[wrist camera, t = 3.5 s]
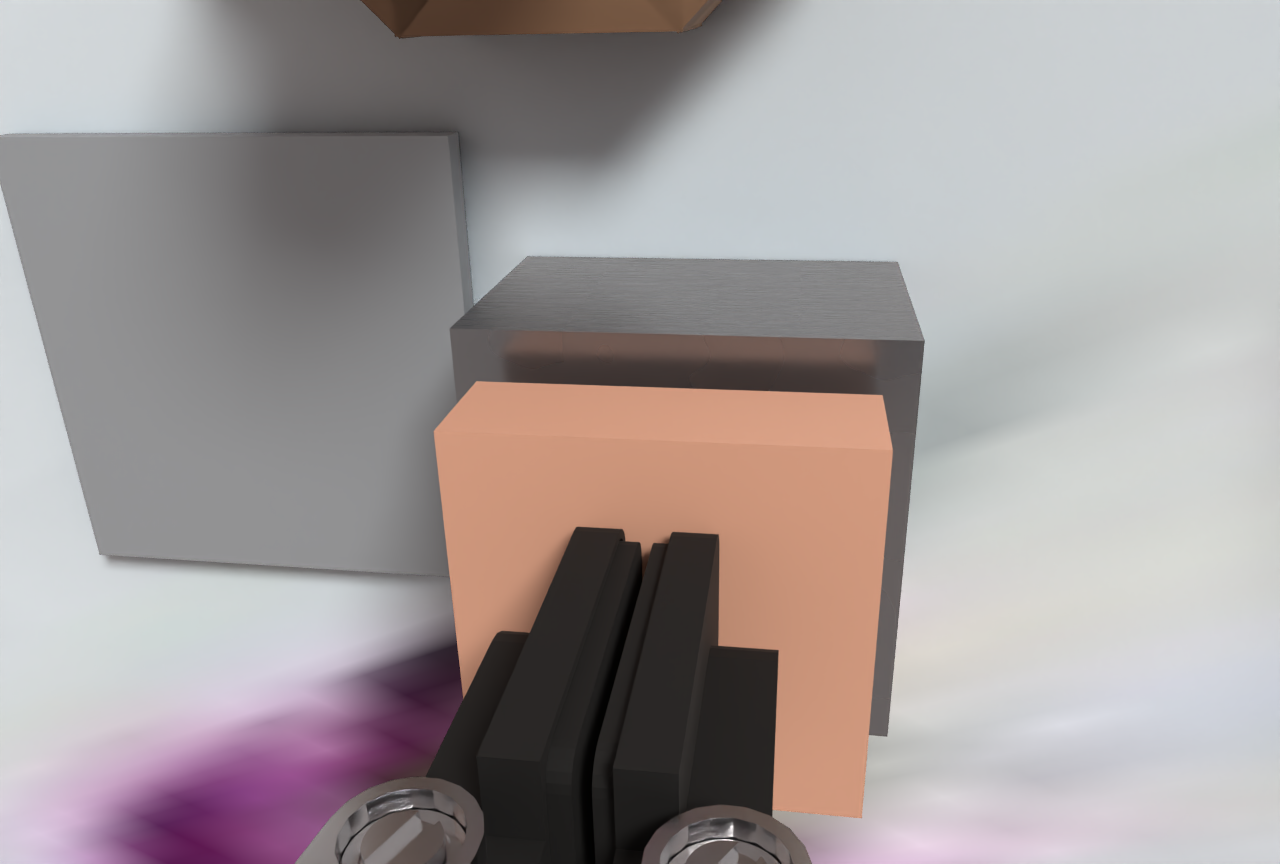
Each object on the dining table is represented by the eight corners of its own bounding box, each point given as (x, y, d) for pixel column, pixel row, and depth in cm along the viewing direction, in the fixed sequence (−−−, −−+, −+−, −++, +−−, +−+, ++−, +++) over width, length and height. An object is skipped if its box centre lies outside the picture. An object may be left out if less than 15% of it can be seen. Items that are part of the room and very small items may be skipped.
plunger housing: (898, 261, 16) (924, 340, 12) (871, 589, 18) (887, 736, 15) (526, 256, 17) (449, 328, 13) (547, 569, 19) (486, 703, 15)
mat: (458, 132, 16) (448, 135, 16) (497, 565, 19) (489, 579, 19) (9, 134, 17) (-13, 137, 17) (115, 541, 20) (100, 554, 20)
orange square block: (866, 311, 15) (893, 450, 10) (846, 596, 17) (861, 817, 12) (542, 304, 16) (433, 431, 11) (559, 577, 18) (473, 781, 13)
